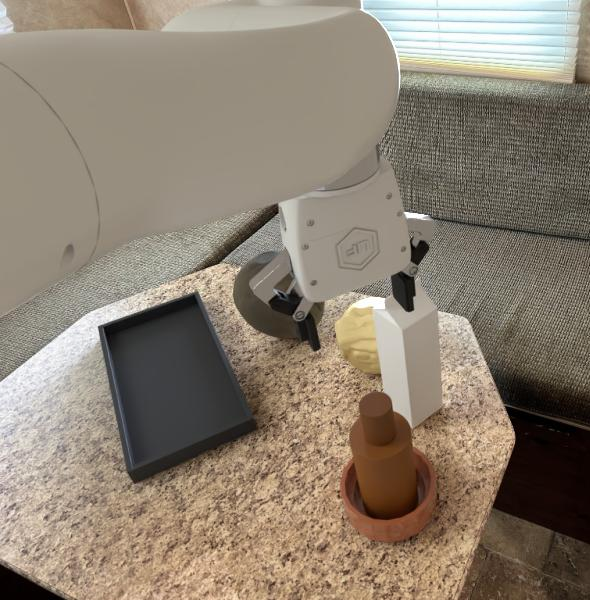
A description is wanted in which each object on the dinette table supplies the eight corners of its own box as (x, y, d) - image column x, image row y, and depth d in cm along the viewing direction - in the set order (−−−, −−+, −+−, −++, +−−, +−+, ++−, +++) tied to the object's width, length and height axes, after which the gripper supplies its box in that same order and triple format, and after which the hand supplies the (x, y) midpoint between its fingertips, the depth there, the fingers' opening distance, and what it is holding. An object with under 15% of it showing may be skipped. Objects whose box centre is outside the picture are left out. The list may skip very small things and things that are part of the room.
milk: (443, 406, 88) (438, 288, 74) (412, 430, 85) (401, 311, 71) (415, 384, 92) (405, 267, 78) (384, 406, 89) (368, 289, 75)
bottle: (378, 534, 73) (359, 440, 61) (354, 490, 78) (332, 395, 66) (428, 507, 75) (419, 412, 63) (402, 466, 80) (389, 370, 68)
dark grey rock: (309, 294, 111) (293, 224, 101) (345, 336, 101) (331, 263, 92) (236, 325, 106) (212, 255, 96) (267, 373, 96) (243, 300, 87)
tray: (134, 484, 82) (126, 472, 80) (103, 336, 106) (97, 325, 105) (258, 429, 87) (254, 417, 86) (202, 301, 112) (197, 290, 110)
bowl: (369, 562, 71) (365, 542, 68) (331, 487, 79) (325, 466, 76) (454, 515, 74) (453, 494, 71) (409, 449, 83) (406, 428, 80)
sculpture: (340, 387, 92) (328, 335, 85) (344, 334, 102) (334, 283, 95) (414, 382, 92) (409, 330, 85) (412, 329, 101) (407, 278, 94)
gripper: (235, 212, 41) (286, 384, 52) (452, 142, 47) (457, 311, 57) (208, 170, 46) (259, 334, 57) (406, 112, 52) (418, 271, 63)
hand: (358, 322), depth 57 cm, fingers open, 9 cm apart
